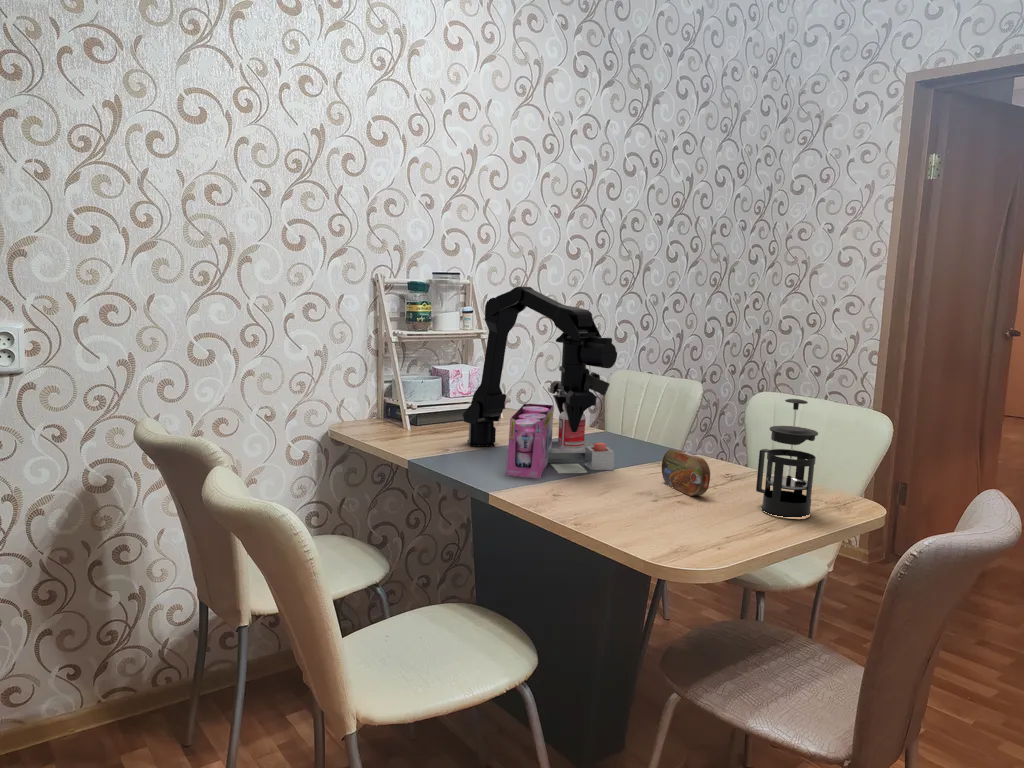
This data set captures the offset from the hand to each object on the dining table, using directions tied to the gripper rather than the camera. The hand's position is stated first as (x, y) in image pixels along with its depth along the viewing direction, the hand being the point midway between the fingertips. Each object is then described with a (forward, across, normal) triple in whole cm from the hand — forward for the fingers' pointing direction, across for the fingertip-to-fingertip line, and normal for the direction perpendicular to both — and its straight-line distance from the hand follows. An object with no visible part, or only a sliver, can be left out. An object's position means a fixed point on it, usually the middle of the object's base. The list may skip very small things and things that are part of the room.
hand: (570, 428), depth 169 cm
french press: (+10, -35, -35) cm, 50 cm away
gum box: (+10, +4, +8) cm, 14 cm away
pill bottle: (+5, 0, 0) cm, 5 cm away
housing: (+10, +1, -8) cm, 13 cm away
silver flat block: (+10, +12, -3) cm, 16 cm away
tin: (+10, -19, -21) cm, 30 cm away
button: (+7, +1, -8) cm, 11 cm away
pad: (+10, 0, 0) cm, 10 cm away
